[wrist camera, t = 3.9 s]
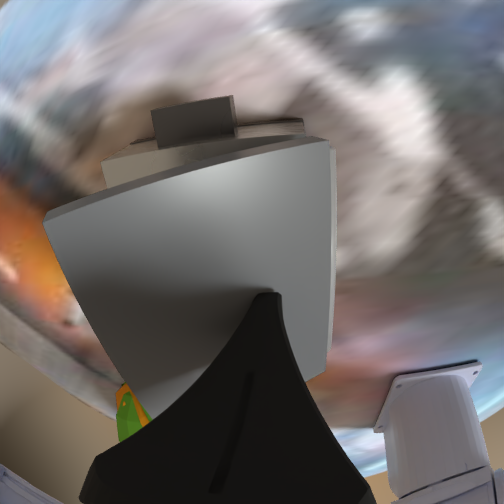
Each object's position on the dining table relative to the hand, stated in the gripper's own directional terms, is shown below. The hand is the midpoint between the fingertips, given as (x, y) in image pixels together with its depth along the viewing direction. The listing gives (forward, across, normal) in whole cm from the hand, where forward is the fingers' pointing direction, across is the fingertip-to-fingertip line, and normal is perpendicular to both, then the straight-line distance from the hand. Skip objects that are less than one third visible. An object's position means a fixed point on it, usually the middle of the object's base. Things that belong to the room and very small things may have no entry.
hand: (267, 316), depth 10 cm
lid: (+1, +1, 0) cm, 2 cm away
